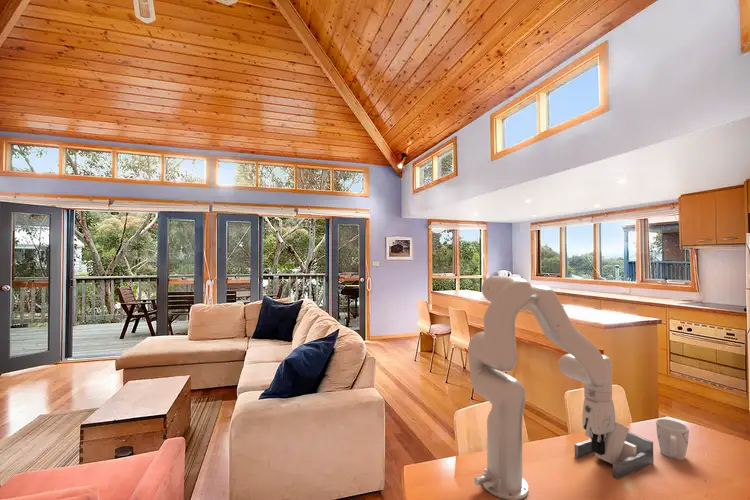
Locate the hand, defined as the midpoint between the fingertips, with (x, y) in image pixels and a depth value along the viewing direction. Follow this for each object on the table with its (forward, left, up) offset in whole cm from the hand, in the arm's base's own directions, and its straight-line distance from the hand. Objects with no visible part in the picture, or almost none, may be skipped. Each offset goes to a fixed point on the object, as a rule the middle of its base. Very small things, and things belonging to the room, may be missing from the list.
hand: (598, 452), depth 111 cm
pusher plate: (+11, 0, -4) cm, 11 cm away
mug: (+28, -7, -4) cm, 29 cm away
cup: (+4, 0, -3) cm, 5 cm away
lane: (+7, 0, -4) cm, 8 cm away
